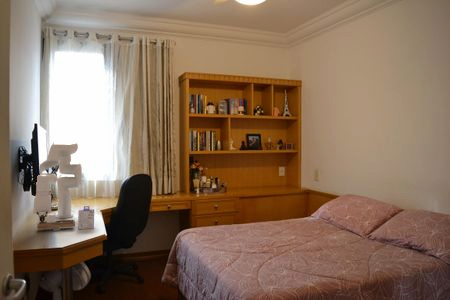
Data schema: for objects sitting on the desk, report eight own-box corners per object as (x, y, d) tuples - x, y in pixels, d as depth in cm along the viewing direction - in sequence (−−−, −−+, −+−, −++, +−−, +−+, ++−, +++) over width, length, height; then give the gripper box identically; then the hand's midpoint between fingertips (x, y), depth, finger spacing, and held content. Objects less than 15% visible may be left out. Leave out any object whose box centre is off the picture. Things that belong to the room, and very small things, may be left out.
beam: (37, 229, 222) (37, 221, 222) (74, 226, 232) (74, 219, 232) (37, 232, 214) (37, 224, 214) (75, 229, 224) (75, 222, 224)
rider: (47, 223, 222) (47, 213, 222) (55, 222, 224) (55, 213, 224) (46, 224, 218) (47, 215, 218) (55, 223, 220) (55, 214, 220)
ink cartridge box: (94, 226, 233) (94, 205, 233) (93, 228, 228) (94, 207, 228) (78, 227, 230) (79, 206, 230) (77, 229, 225) (78, 207, 225)
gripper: (55, 192, 226) (55, 220, 226) (29, 193, 219) (29, 221, 219) (55, 194, 219) (55, 222, 219) (29, 195, 212) (28, 224, 212)
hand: (42, 222), depth 219 cm, fingers closed
